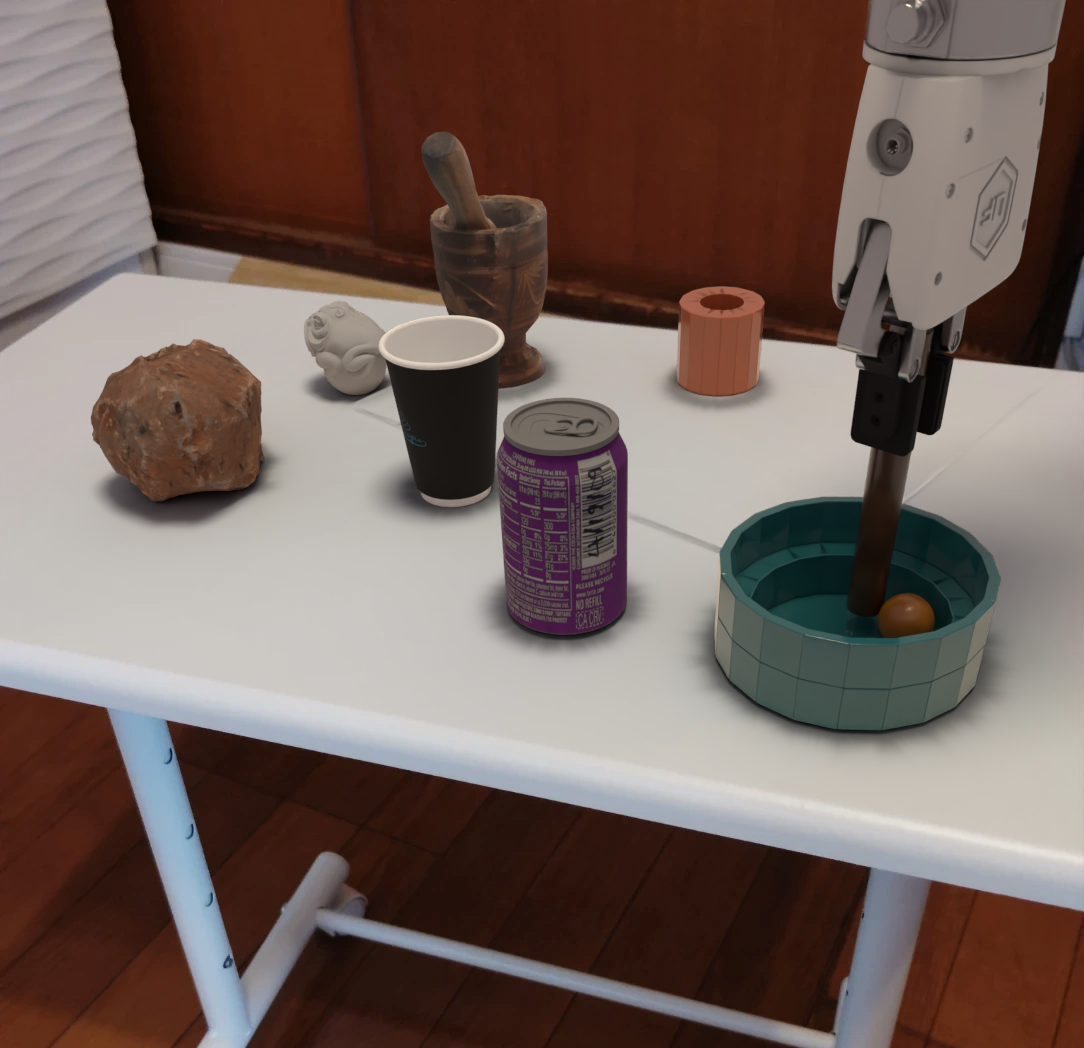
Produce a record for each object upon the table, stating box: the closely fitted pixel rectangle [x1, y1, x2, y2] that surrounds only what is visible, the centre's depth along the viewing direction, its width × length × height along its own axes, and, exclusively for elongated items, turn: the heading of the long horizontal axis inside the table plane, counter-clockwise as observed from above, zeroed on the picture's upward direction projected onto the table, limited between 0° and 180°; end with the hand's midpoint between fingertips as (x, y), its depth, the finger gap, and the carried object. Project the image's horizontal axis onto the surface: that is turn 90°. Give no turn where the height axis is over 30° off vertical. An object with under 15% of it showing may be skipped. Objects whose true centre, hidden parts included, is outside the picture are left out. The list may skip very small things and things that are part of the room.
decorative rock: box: [90, 338, 265, 502], centre depth 81 cm, size 13×11×10 cm
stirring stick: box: [846, 325, 934, 617], centre depth 61 cm, size 2×2×16 cm
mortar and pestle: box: [421, 131, 549, 390], centre depth 88 cm, size 12×9×20 cm
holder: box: [676, 285, 766, 397], centre depth 90 cm, size 6×6×7 cm
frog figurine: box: [303, 300, 388, 396], centre depth 93 cm, size 6×7×7 cm
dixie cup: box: [379, 314, 505, 508], centre depth 78 cm, size 8×8×11 cm
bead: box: [877, 593, 935, 638], centre depth 65 cm, size 3×3×3 cm
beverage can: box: [496, 397, 629, 635], centre depth 66 cm, size 7×7×12 cm
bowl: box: [713, 496, 1002, 731], centre depth 64 cm, size 14×14×6 cm
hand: (895, 434), depth 59 cm, fingers closed on stirring stick, 2 cm apart
